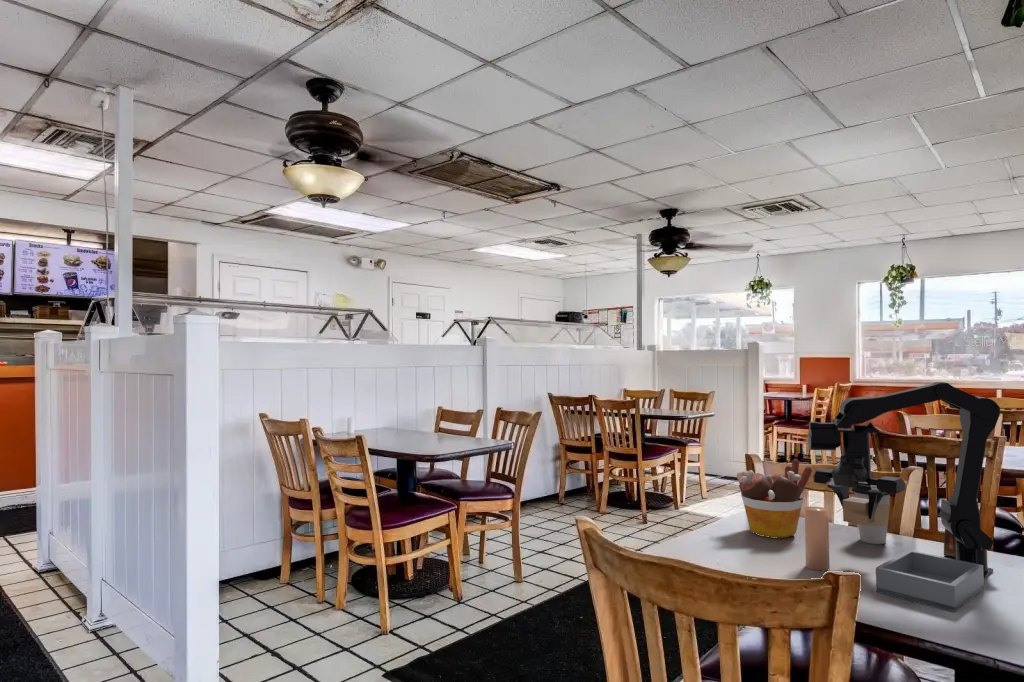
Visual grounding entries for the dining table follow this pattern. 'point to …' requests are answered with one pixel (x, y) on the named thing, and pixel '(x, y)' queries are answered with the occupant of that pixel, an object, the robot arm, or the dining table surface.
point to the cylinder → (817, 538)
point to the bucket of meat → (773, 500)
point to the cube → (856, 511)
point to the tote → (930, 580)
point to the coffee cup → (878, 528)
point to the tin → (949, 544)
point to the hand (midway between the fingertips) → (858, 516)
